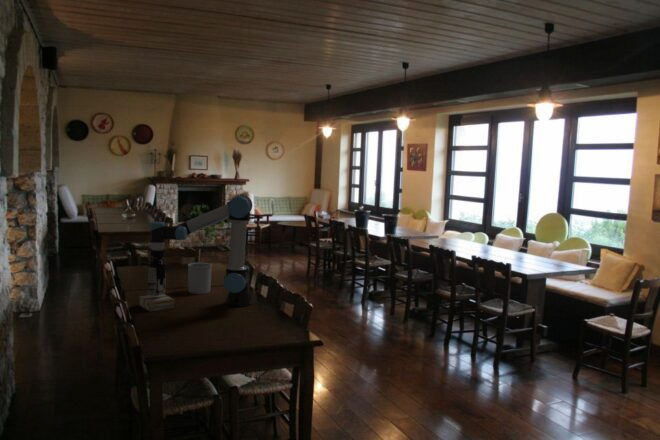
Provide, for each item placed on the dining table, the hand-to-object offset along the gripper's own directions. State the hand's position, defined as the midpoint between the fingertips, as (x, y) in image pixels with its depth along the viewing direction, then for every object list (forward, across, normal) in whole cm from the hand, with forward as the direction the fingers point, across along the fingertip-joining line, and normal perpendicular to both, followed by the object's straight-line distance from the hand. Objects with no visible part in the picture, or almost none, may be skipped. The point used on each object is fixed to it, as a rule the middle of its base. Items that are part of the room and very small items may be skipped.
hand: (156, 288), depth 305 cm
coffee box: (+3, 0, 0) cm, 3 cm away
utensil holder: (+11, -22, +37) cm, 44 cm away
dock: (+10, 0, 0) cm, 10 cm away
